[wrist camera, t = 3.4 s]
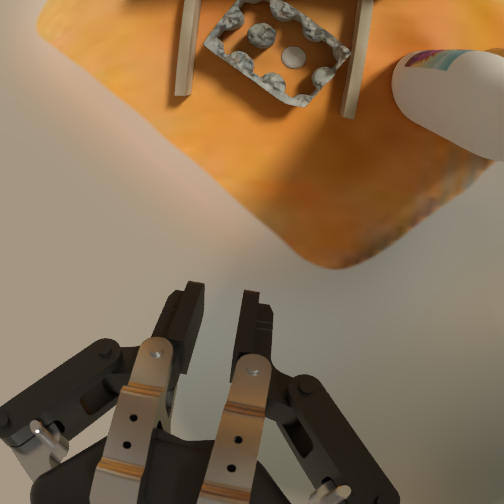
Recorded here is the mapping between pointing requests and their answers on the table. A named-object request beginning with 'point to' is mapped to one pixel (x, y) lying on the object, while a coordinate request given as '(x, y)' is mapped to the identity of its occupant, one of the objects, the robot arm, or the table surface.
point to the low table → (354, 66)
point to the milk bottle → (455, 97)
